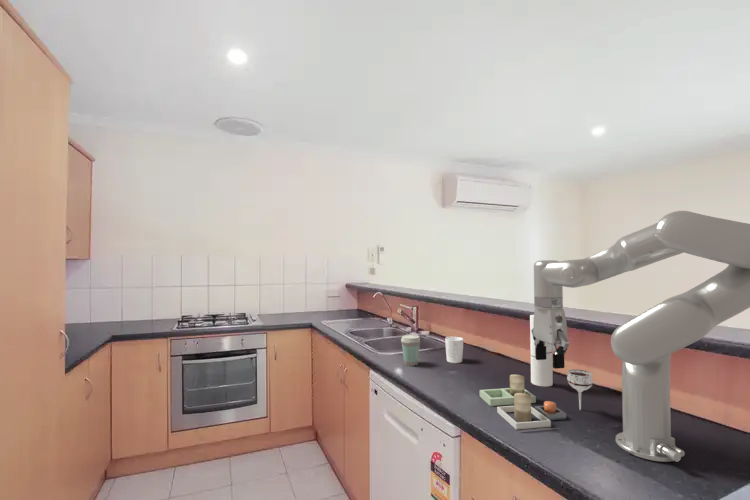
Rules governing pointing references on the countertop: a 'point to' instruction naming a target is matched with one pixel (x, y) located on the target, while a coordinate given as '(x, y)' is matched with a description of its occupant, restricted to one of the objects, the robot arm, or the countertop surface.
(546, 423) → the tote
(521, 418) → the cylinder
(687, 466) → the countertop surface
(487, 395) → the pale green flat tray
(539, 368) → the cylindrical container
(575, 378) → the wineglass
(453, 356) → the white cup
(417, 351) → the coffee cup
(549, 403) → the button
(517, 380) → the cylinder
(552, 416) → the button housing
